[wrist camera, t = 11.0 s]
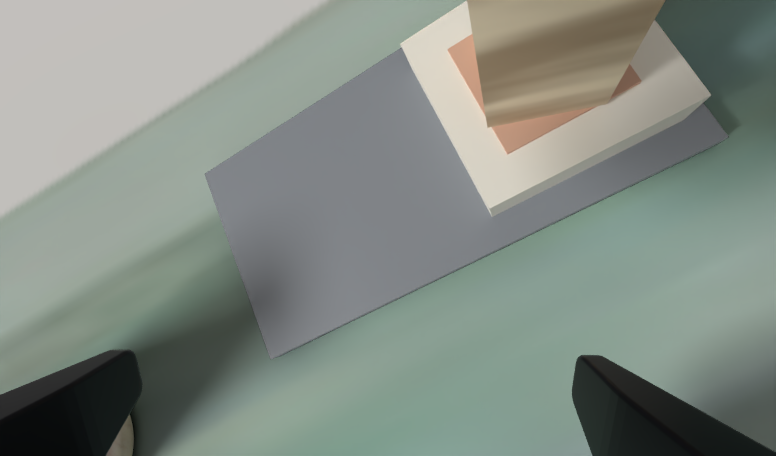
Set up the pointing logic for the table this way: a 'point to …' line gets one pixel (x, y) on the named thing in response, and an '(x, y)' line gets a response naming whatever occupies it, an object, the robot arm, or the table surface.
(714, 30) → the table surface
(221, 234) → the table surface
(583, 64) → the maple pillar
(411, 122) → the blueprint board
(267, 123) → the table surface
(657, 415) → the robot arm
